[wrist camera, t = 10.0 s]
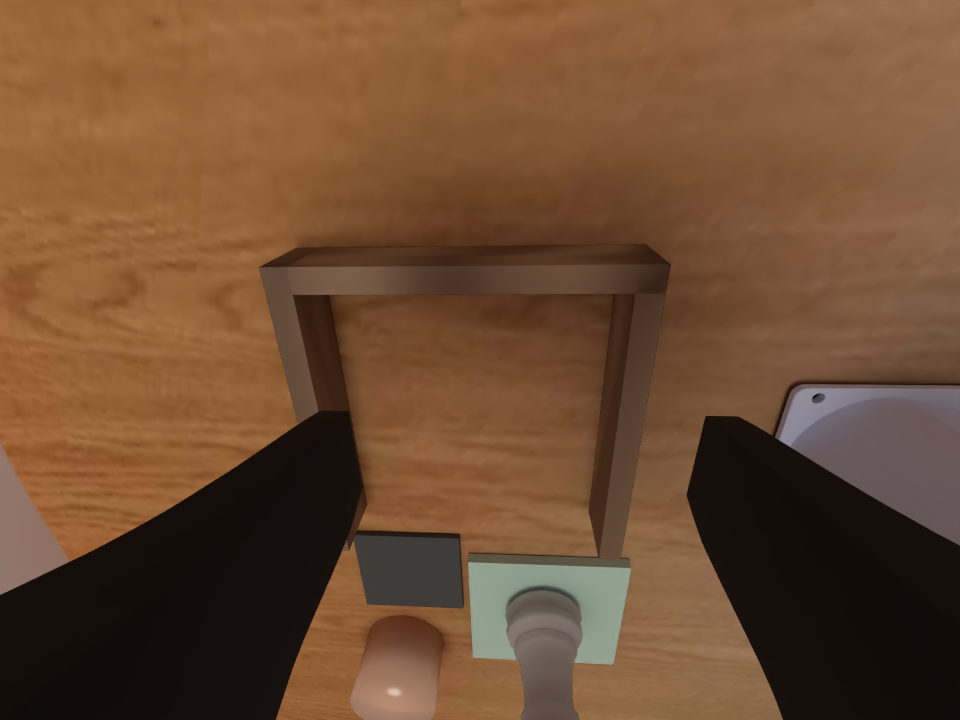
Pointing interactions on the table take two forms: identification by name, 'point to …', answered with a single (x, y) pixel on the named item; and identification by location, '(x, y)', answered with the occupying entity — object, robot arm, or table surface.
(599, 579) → the coaster
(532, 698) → the rook chess piece
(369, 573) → the dark gray tile
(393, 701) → the peach short cylinder
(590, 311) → the table surface
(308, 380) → the cubby
